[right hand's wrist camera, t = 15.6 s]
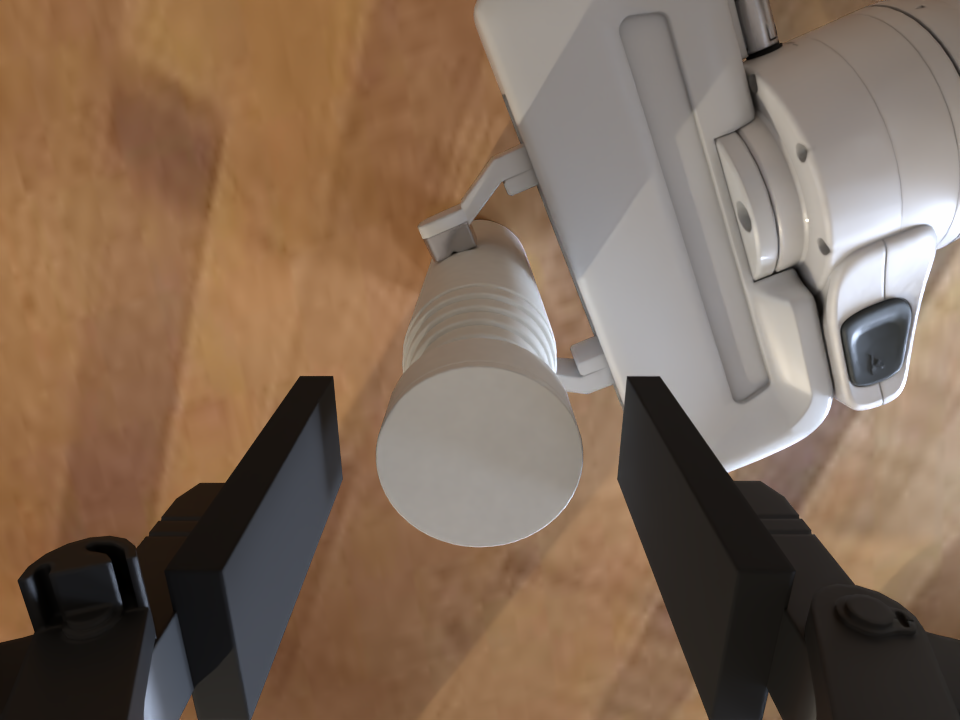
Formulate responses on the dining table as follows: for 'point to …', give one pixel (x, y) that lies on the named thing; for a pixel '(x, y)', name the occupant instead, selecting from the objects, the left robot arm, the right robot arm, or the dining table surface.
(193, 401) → the dining table surface
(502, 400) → the cap
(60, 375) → the dining table surface
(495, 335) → the bottle
